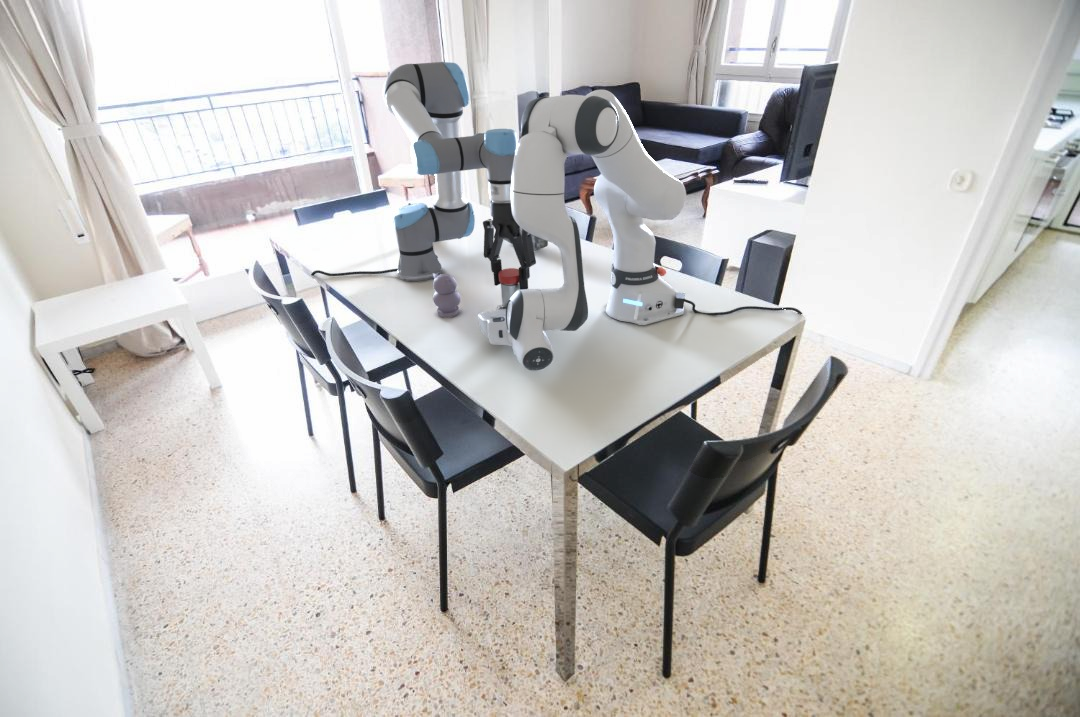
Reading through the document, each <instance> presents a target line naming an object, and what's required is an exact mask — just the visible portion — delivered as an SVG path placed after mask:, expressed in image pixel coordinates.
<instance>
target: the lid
mask: <svg viewBox="0 0 1080 717" xmlns="http://www.w3.org/2000/svg"><path fill="white" fill-rule="evenodd" d="M499 281H500V282H501V283H503V284H516V283H519V268H516V267H515V268H514V267H509V268H502V270H501V271H499Z"/></svg>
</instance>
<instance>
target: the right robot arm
mask: <svg viewBox="0 0 1080 717" xmlns="http://www.w3.org/2000/svg"><path fill="white" fill-rule="evenodd" d="M517 142H518V143H517V146H516V150H515V155H514V160H513V167H512V177H511V210H512V215H513V218H514V219H515V221H516V223H517V224H518V225H519V226H520V227H521V228H522V229H524V230H525V231H527V232H528V233H530V234H532V235H534V236H536V237H539V238H541V239H544V240H547V241H548V243H552V245H554V246H556V247H557V248H558V250H559V252H560V258H561V267H562V276H563V285H562V286H561V287H558V288H557V287H556V288H528V289H522V290H517V291H516V292H515V293H514V294H513V295H512V296H511V298H510V299H509V301H508V303H507V306H506V309H504V308H503V305H502V304H497V305H496V309H495V310H489V311H488V310H487V311H481V312H479V313H478V314H477V321H478V327H479V330H480V331H481V332H482V334H483V335H484V337H486V338H488V341H489V344H490V345H494V346H495V345H498V346H499V345H500V346H509V347H511V349H512V351H513V354H514V356H515V358H516V360H517V361H518V362H519V364H520V365H521V366H522V367H523V368H524V369H526V370H527V371H528V370H529V371H540V370H543V369H546V368H547V367H549V366H550V364H552V362H553V360H554V351H553V347H552V343H551V341H550V339H549V337H548V335H547V333H546V331H549V332H550V331H562V332H563V331H566V332H576V331H578V329H580V328H581V327H582V326H583V325H584V324H585V323H586V321H587V320H588V317H589V305H588V299H587V294H586V288H585V278H584V266H583V256H582V245H581V237H580V229H579V227H578V223H577V220H576V219H575V218H574V217H572V216H571V215H569V212H568V210H567V206H566V203H565V187H566V186H565V184H566V183H565V182H566V176H565V173H566V172H565V171H566V170H565V162H566V161H567V158H568V156H569V155H587V156H590V157H591V158H592V160H593V162H594V164H595V165H596V167H597V169H598V171H599V172H600V174H599V175H598V176H597V178H596V180H595V183H594V186H593V196H594V199H595V202H596V203H597V205H598V206H599V207H600V208H601V209H602V211H603V212H604V214H605V216H606V217H607V221H608V223H609V225H610V229H611V232H612V238H613V262H612V264H611V271H610V284H611V287H610V292H609V297H608V301H607V304H606V307H605V313H606V314H607V315H608V316H609V317H610V318H612V319H614V320H617V321H621V322H627V323H633V324H635V325H639V326H647V325H651V324H653V323H657V322H662V321H665V320H668V319H672V318H676V317H679V316H682V315H684V314H685V306H684V305H685V303H686V304H690V305H691V310H692V312H694V313H695V314H701V315H706V316H723V315H730V314H734V313H736V312H739V311H742V310H762V311H772V312H774V311H779V312H780V311H793V312H796V313H797V314H799V315H803V312H802V311H801V310H800V309H799V308H796V307H791V306H787V307H768V306H755V305H747V306H739V307H736V308H734V309H732V310H727V311H720V312H702V311H699V310H697V309H696V304H695V303H694V302H693V301H692V300H689V299H687V298H685V297H686V292H680V291H676V290H675V288H674V287H673V286H672V285H670V284H669V283H668V282H667V281H665V279H663V278H662V277H664V276H665V275H666V274H667V270H666V269H664V267H662V266H659V265H658V264H656V263H655V253H656V245H657V241H656V237H655V235H654V233H653V232H652V231H651V230H650V228H648V227H647V226H646V224H645V222H644V219H645V220H646V219H647V220H651V221H671V220H675V219H676V218H677V217H678V216H679V215H680V213H682V211H683V209H684V207H685V205H686V201H687V190H686V187H685V185H684V183H683V182H682V181H681V180H679V179H677V178H676V177H675V176H673V175H671V174H669V173H668V172H667V171H665V170H664V169H663V168H662V167H661V166H660V165H659V164H658V163H657V162H656V161H655V160H654V159H653V158H652V157H651V156H650V155H649V154H648V152H647V151H646V149H645V148H644V146H643V144H642V143H641V140H640V138H639V136H638V134H637V132H636V130H635V128H634V125H633V123H632V121H631V119H630V117H629V115H628V114H627V112H626V110H625V109H624V106H623V105H622V104H621V102H620V101H619V100H618V99H617V97H616V96H615V94H614V93H612V92H611V91H609V90H606V89H596V90H593V91H591V92H589V93H587V94H586V95H581V94H564V95H554V96H547V95H544V96H540V97H537V98H534V99H532V100H531V101H529V102H528V103H527V104H526V106H525V108H524V110H523V112H522V116H521V120H520V138H519V140H517ZM782 308H783V309H782ZM784 309H786V310H784Z"/></svg>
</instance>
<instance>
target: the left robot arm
mask: <svg viewBox="0 0 1080 717" xmlns="http://www.w3.org/2000/svg"><path fill="white" fill-rule="evenodd" d="M383 83H384V84H383V88H382V96H383V101H384V104H385V105H386V108H387V109H388V111H389V112H390V113H391V114H392V115H393V116H394V117H396V118H397V120H398V121H399V123H400V125H401V126H402V128H403V130H404V131H405V133H406V135H407V137H408V138H409V140H410V142H411V145H410V157H411V162H412V166H413V169H414V171H415V173H416V174H418V175H420V176H428V175H429V176H430V175H431V176H435V177H434V178H435V180H434V181H435V188H436V189H435V190H436V195H435V197H434V198H433V200H432V204H433V205H432V206H430V207H428V205H427V204H426V203H424V202H423V203H422V202H419V203H410V204H411V205H408V204H407V205H404V206H401V207H399V208H397V209H396V210H395V211H394V213H393V215H392V219H393V228H394V230H395V231H394V232H395V236H396V241H397V247H398V251H399V259H398V265H397V268H392V269H385V270H375V271H370V270H366V271H364V270H363V271H362V270H361V271H360V270H359V271H347V272H338V273H337V272H336V273H335V272H334V273H331V272H326V271H323V270H318V269H317V270H313V271H312V272H311V274H310V276H315V275H316V274H321V275H323V276H328V277H342V276H344V277H345V276H350V275H351V276H354V275H381V274H388V273H395V272H397V276H398V278H399V279H400V280H402V281H406V282H413V283H414V282H425V281H429V280H432V279H433V280H434V276H433V273H434V274H437V275H441V274H443V268H442V264H441V263H440V260H439V257H438V255H437V254H436V252H435V250H434V243H440V242H445V241H452V240H457V239H458V240H461V239H462V238H467V237H470V236H471V235H472V233H473V232H474V229H475V222H476V221H475V220H476V219H475V218H476V217H475V214H474V213H475V209H474V207H473V205H472V203H471V202H469V200H468V198H467V197H466V195H464V193H463V192H464V191H463V175H462V174H463V173H462V171H471V170H480V169H486V173H487V182H488V184H487V186H488V195H489V196H488V197H489V199H490V202H489V208H490V217H492V218H488V219H486V220H483V221H482V225H483V230H484V233H483V257H484V259H488V260H489V261H490V270H491V273H493V274H492V275H493V284H494V286H496V287H497V286H499V285H501V282H500V281H499V271H501V270H503V268H502V267H503V266H502V265H503V264H502V259H500V258H501V256H500V253H501V250H502V246H503V243H504V238H507V239H509V240H510V242H511V243H512V244H511V243H510V244H511V245H512V247H513V249H514V252H515V255H516V258H517V259H518V262H519V265H520V266H519V267H518V269H519V285H520V290H522V289H529V279H530V277H531V273H530V272H531V270H530V268H531V267H532V266H534V265H536V264H537V260H536V255H535V254H536V253H535V251H534V248H533V242H532V236H531V234H530V233H528V232H527V231H525V230H524V229H522V228H521V227H520V226H519V225H518V224H517V223H516V221H515V219H514V218H513V215H512V210H511V177H512V167H513V160H514V155H515V150H516V146H517V143H518V135H517V132H516V131H515V130H514V129H512V128H493V129H492V128H491V129H489V130H486V131H485V132H478V133H475V134H473V135H469V136H468V135H467V136H460V126H459V120H460V119H461V118H462V117H463V116H464V108H466V107H467V106H468V105H469V103H470V102H469V101H470V93H469V87H468V82H467V79H466V76H465V73H464V71H463V69H462V68H461V66H460V65H459V64H458V63H456V62H446V61H436V62H420V63H404V64H402V65H398V66H397V67H396V68H394V69H393V70H392V71H391V72H390V73H389V74H388V75H387V77H386V79H385V81H384V82H383ZM520 230H521V232H520ZM520 233H521V234H522V236H521V234H520ZM514 237H516V238H514ZM521 239H522V240H521ZM522 242H523V243H522Z"/></svg>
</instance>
